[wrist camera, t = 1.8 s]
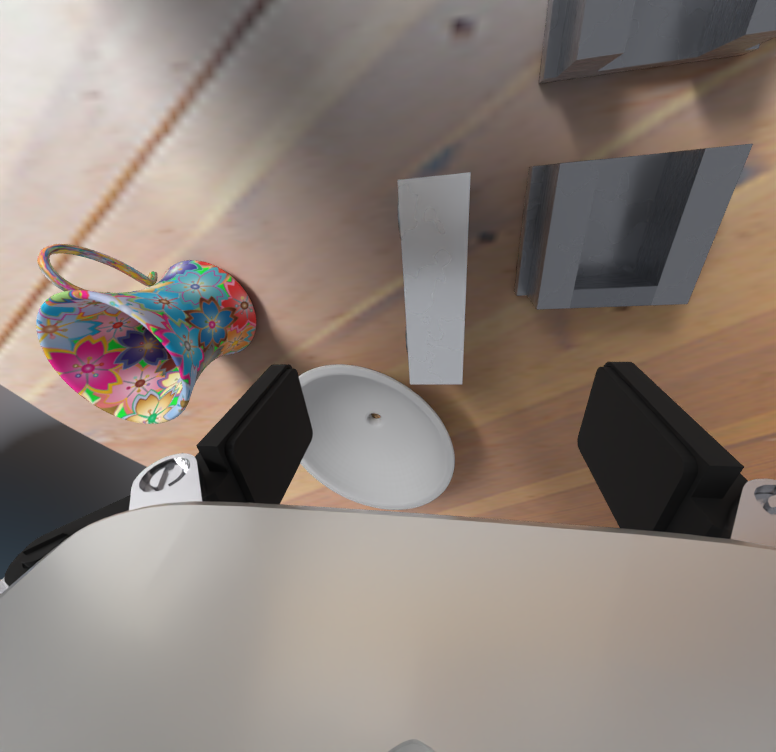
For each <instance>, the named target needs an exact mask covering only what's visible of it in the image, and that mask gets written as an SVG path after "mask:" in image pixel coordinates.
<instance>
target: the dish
mask: <svg viewBox="0 0 776 752" xmlns="http://www.w3.org/2000/svg"><path fill="white" fill-rule="evenodd" d="M299 380H300V384H301V388H302V392H303V395H304V399H305V403H306V407H307V411H308V414H309V418H310V422H311V426H312V430H313V437H312V441H311V443H310V445H309V447H308V449H307V451H306V453H305V455H304V457H303V459H302V461H301V465H302V466H303V467H304V468H305V469H306V470H307V471H308V472H309V473H310V474H311V475H312V476H313V477H314V478H316V479H317V480H318V481H319V482H321V483H322V484H323V485H325V486H326V487H328V488H329V489H331V490H332V491H334V492H336V493H337V494H339V495H341V496H343V497H345V498H347V499H350V500H352V501H355V502H357V503H360V504H363V505H367V506H370V507H375V508H381V509H390V510H402V509H411V508H415V507H419V506H422V505H425V504H427V503H429V502H431V501H433V500H434V499H436V498H437V497H438V496H439V495H441V494H442V493H443V491H444V490H445V489H446V488H447V486H448V485H449V483H450V481H451V478H452V475H453V471H454V464H455V457H454V449H453V445H452V442H451V439H450V436H449V434H448V432H447V430H446V428H445V426H444V424H443V422H442V421H441V419H440V418H439V416H438V415H437V414H436V413H435V411H434V410H433V409H432V408H431V407H430V406H429V405H428V403H427V402H426V401H425V400H423V399H422V398H421V397H420V396H419V395H418V394H416V393H415V392H414V391H413V390H411V389H410V388H408V387H407V386H405V385H404V384H402V383H401V382H399V381H397V380H395V379H393V378H392V377H389V376H387V375H385V374H383V373H380V372H377V371H375V370H371V369H368V368H364V367H359V366H354V365H344V364H335V365H325V366H321V367H317V368H314V369H311V370H309V371H307V372H305V373H303V374H301V375H300V376H299ZM371 413H376V414H379V415H380V416H381V417H380V418H374V417H372V416H371Z"/></svg>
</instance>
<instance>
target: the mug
mask: <svg viewBox="0 0 776 752" xmlns="http://www.w3.org/2000/svg"><path fill="white" fill-rule="evenodd" d="M57 253H65V254H73V255H78V256H82V257H86V258H89V259H93V260H96V261H98V262H101V263H104V264H106V265H109V266H111V267H113V268H115V269H117V270H119V271H121V272H123V273H125V274H127V275H128V276H130V277H132V278H133V279H135V280H137V281H138V282H140V283H142V284H144V285H146V286H149V287H148V288H146V289H142V290H138V291H133V292H124V293H110V292H107V293H103V292H94V291H88V290H85V289H82V288H79V287H77V286H75V285H73V284H71V283H70V282H68V281H66V280H65V279H64V278H62V277H61V276H60V275H59V274H58V273H57V272H56V271H55V270H54V269H53V267H52V265H51V263H50V260H49V256H50V255H52V254H57ZM37 261H38V265H39V268H40V270H41V272H42V273H43V274H44V276H45V277H46V278H47V279H48V280H49V281H50V282H51V283H53V284H54V285H55V286H57V287H58V288H60V289H61V290H63V291H64V292H61V293H58V294H55V295H53V296H51V297H50V298H49V299H47V300H46V301H45V302H44V303H43V304H42V306H41V308H40V309H39V312H38V315H37V323H36V326H37V334H38V339H39V342H40V345H41V347H42V349H43V352H44V354H45V355H46V357H47V359H48V361H49V362H50V364H51V365H52V367H53V368H54V369H55V371H56V372H57V373H58V374H59V376H60V377H61V378H62V379H63V380H64V381H65V382H66V383H67V384H68V385H69V386H70V387H71V388H72V389H73V390H74V391H76V392H77V393H78V394H79V395H80V396H82V397H83V398H84V399H86V400H87V401H89V402H90V403H92V404H93V405H95V406H96V407H98V408H100V409H102V410H103V411H105V412H107V413H109V414H112V415H114V416H116V417H119V418H122V419H125V420H128V421H132V422H137V423H144V424H158V423H164V422H167V421H170V420H172V419H174V418H176V417H177V416H179V415H180V414H181V413H182V412H183V411H184V410H185V408H186V407H187V405H188V402H189V400H190V396H191V393H192V390H193V387H194V385H195V383H196V381H197V379H198V377H199V376H200V374H201V373H202V371H203V370H204V369H205V368H206V367H207V366H208V365H209V364H210V363H211V362H212V361H213V360H215V359H216V358H218V357H220V356H222V355H230V354H235V353H237V352H240V351H242V350H243V349H245V348H246V347H247V346H248V345H249V344H250V342H251V341H252V339H253V337H254V334H255V331H256V315H255V311H254V307H253V305H252V302H251V300H250V298H249V297H248V295H247V293H246V292H245V290H244V289H243V288H242V286H241V285H240V284H239V283H238V282H237V281H236V280H235V279H234V278H233V277H232V276H231V275H229V274H228V273H227V272H225V271H224V270H222V269H220V268H219V267H217V266H214V265H212V264H209V263H206V262H202V261H193V260H190V261H182V262H179V263H177V264H175V265H173V266H171V267H170V268H169V269H168V270H167V271H166V272H165V274H164V275H163V277H162V279H161V281H159V282H158V283H157V284H155V283H156V281H157V273H156V272H154V271H153V272H151V273H150V274H149V275H148V277H149V278H148V277H146V276H145V275H143V274H142V273H140V272H139V271H137V270H135V269H134V268H132V267H130V266H129V265H127V264H125V263H123V262H121V261H119V260H117V259H115V258H113V257H110V256H108V255H105V254H103V253H100V252H97V251H94V250H91V249H87V248H84V247H79V246H74V245H67V244H53V245H49V246H47V247H45V248H44V249H42V250H41V251H40V253H39V255H38V259H37ZM154 284H155V285H154ZM150 286H151V287H150Z"/></svg>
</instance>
